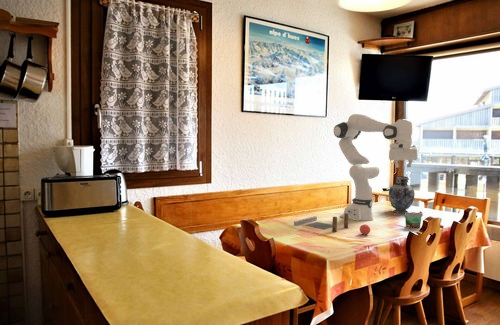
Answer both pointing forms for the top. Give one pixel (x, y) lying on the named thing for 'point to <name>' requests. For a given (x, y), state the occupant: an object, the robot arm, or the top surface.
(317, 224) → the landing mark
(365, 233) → the ball
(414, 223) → the food container
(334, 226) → the post
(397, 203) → the decorative vase
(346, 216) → the post
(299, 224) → the stopper wall
